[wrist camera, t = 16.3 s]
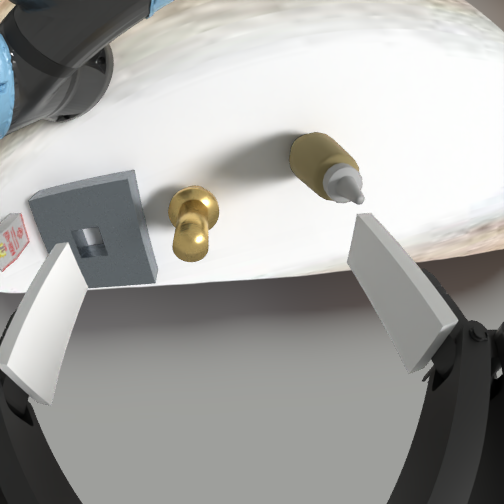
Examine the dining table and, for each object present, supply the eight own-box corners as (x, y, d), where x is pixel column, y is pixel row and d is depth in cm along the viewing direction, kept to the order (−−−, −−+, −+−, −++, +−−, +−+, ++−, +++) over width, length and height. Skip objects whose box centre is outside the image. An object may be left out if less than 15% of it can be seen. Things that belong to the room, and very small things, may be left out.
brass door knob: (162, 202, 43) (147, 251, 32) (191, 168, 41) (184, 207, 30) (198, 227, 47) (195, 280, 36) (227, 197, 44) (234, 244, 34)
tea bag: (17, 241, 42) (-5, 271, 34) (9, 213, 38) (-17, 241, 30) (29, 241, 43) (7, 272, 35) (21, 213, 39) (-5, 241, 31)
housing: (72, 276, 49) (66, 289, 46) (38, 191, 37) (28, 200, 34) (158, 269, 51) (155, 283, 48) (134, 169, 39) (127, 178, 36)
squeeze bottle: (282, 128, 39) (326, 164, 24) (331, 126, 39) (395, 163, 25) (283, 176, 44) (322, 236, 29) (330, 172, 44) (384, 228, 30)
